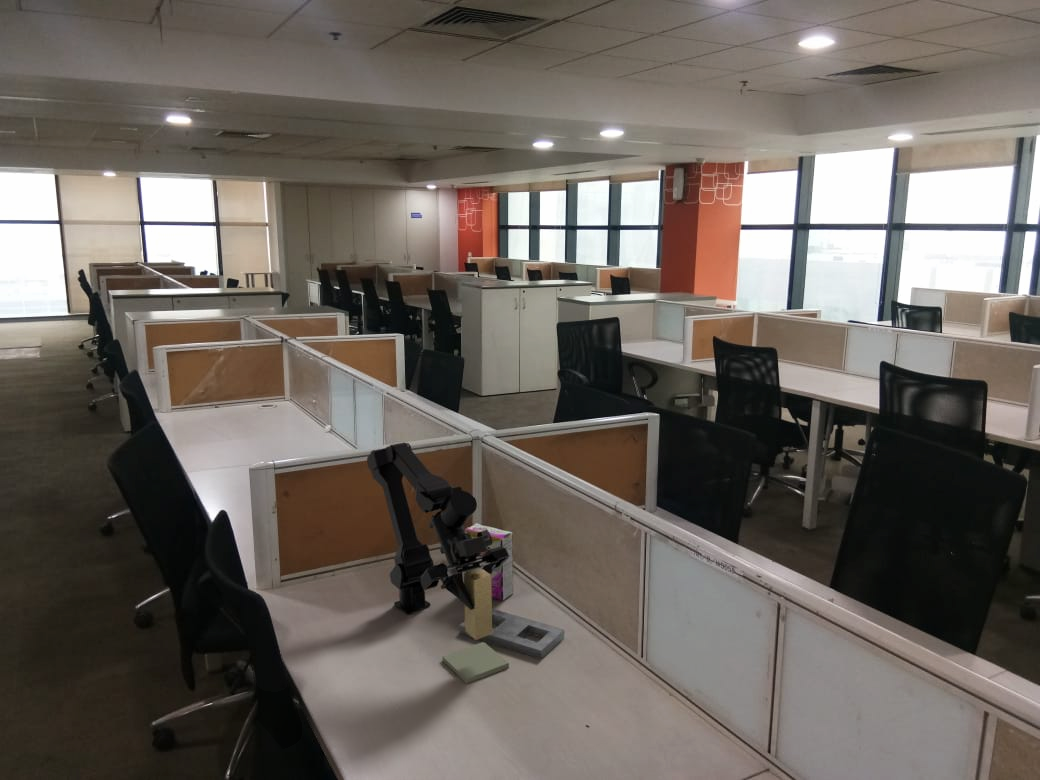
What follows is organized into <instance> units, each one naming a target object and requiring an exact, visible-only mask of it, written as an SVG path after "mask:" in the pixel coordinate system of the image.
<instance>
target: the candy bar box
mask: <svg viewBox="0 0 1040 780" xmlns="http://www.w3.org/2000/svg"><path fill="white" fill-rule="evenodd" d="M464 530H465V533H469V534H470V535H471V537H472V538H476V537H477V533H478V532H481V531H484V530H488V531H489V533H490V535H491V538H492V542H493V543H492V545H489V546H486V547H487V551H488V550H490V549H493V548H497V547H500V546H502V547H504V548H506V549H507V551H508V553H509V556H510V557H509V558H508V559H507V560H506V561H505V562H504V563H503V564H502V565H501V566H500V567H498V568H495V569H492V572H491V591H492V599H496V600H499V601H502V602H504V601H505V600H506V599H507V598H509V597H510V596H512V595H513V594H514V560H513V559H514V556H513V555H514V554H513V553H514V551H513V549H514V548H513V541H514V540H513V532H512V531H508V530H504V529H500V528H495V527H492V526H488V525H484V524H480V523H474V524H472V525H470V526H468V527H466V528H465V529H464ZM487 551H486V552H487ZM486 552H481V554H480V555H479V556H477V557H476V558H481V557H483V556H484V555H485V553H486ZM472 565H473V564H472ZM469 566H471V565H469ZM473 570H475V569H473ZM470 571H472V570H470ZM466 572H469V571H466ZM466 572H465V573H466Z"/></svg>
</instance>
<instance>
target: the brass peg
mask: <svg viewBox="0 0 1040 780" xmlns="http://www.w3.org/2000/svg"><path fill="white" fill-rule="evenodd" d="M463 582H464V585H465V587H466V589H467V591H468V593H469V596H470V598H471V600H472V603H473V606H474V608H473V609H472V610H470V609H469V608H468V607H467V606H466V605H465V604H464V621H465V632H466V633H468V634H469V635H470V636H471V637H470V638H473V639H474V641H475V640H476V641H477V640H479V639H480V638H482V637H485V636H488V635H491V634H492V629H493V622H492V609H493V607H492V606H493V605H492V604H493V598H492V592H491V574H489V573H487V572H486V571H484V570H483V569H481V568H479V569H475V570H472V571H469V572H463Z"/></svg>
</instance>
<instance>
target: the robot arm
mask: <svg viewBox="0 0 1040 780" xmlns="http://www.w3.org/2000/svg"><path fill="white" fill-rule="evenodd" d="M366 458H367V459H366V464H367V467H368V469H369V471H370V472H371V475H372V478H373V480H375V482H376V483H378V484H379V486H381V487H382V491H383V494H384V497H385V501H386V505H387V509H388V513H389V516H390V521H391V524H392V528H393V532H394V536H395V539H396V544H397V547H396V551H395V554H394V558H393V560H394V567H393V569H391V571H390V573H389V577H390V583H391V584H392V585H393V586H395V587H396V588H397V589H398V593H399V595H398V597H399V600H398V601H395V602H394V603H393V605H394V606H395V607H396V608H398V609H399V610H401V611H403V612H404V613H405V614H407V615H410V614H412V613H415V612H418V611H420V610H421V611H422V610H423V609H426V608H428V607H431V603H430V602H429V601H427V600H426V592H425V591H427V590H431V589H433V588H434V589H435V588H437V587H438V584H439V583H440V581H441V585H440V589H441V590H444V589H445V590H447V591H448V592H449V593H450V594H452V595H453V596H454V597H456V598H457V599H458V600H459V601H460V602H461V603H462V604H463V605H464V606H465V605H466V606H467V607H468V608H469V609H470V610H472V609H473V608H474V606H473V603H472V600H471V598H470V596H469V593H468V591H467V589H466V587H465V585H464V573H466V571H470V570H473V569H479V568H481V569H483V570H484V571H486V572H487V573H489V574H491V572H492V569H495V568H498V567H500V566H501V565H502V564H503V563H504V562H505V561H506V560H507V559H508V558H509V557H510V556H509V553H508V551H507V549H506V548H504V547H502V546H500V547H497V548H493V549H490V550H488V551H487V547H486V546H489V545H492V543H493V542H492V538H491V535H490V533H489V531H488V530H484V531H481V532H478V533H477V537H476V538H472V537H471V535H470V534H469V533H465V529H464V525H466V523H467V522H468V521H469V520H470V519H471V517H472V516H473V514H474V513H475V511H477V508H478V504H477V503H478V502H477V500H476V497H474V496H473V495H472V494H471V493H470V492H468V491H466V490H463V489H462V487H461V485H459V486H454V487H453V486H452V485H451V483H450V482H448V481H447V480H445V478H444V477H442V476H439V475H434V474H433V473H431V472H430V470H429V469H428V468H427V467H426V465H425V464H424V463H423V462H422V461H421V459H420V458H419V457H418V456H417V455H416V454H415V452H414V451H413V450H412V447H411V445H410V443H409V442H400V443H392V444H390V445H389V446H386V447H384V448H378V449H373V450H371V451H370V454H369V455H367V457H366ZM404 477H405V479H406V480H407V481H408V482H409V484H410V485H411V486H412V488H413V489H414V491H415V497H414V499H415V500H414V501H416V504H417V506H418V507H419V509H420V510H421V511H422V512H423V513H426V514H428V513H432V512H436V513H435V514H433V515H431V520H430V522H429V528H430V529H434V532H435V533H436V537H437V539H438V541H439V543H440V546H441V547H440V549H439V552H440V554H441V555H442V554H443V555H444V556H445V558H446V561H447V563H448V566H447V565H446V564H445V563H443V562H441V563H439V564H435V565H434V560H433V559H432V557H431V554H430V550H429V546H428V545H427V544H426V543H422V542H421V541H420V540H419V539H418V536H417V532H416V528H415V525H414V521H413V516H412V513H411V509H410V506H409V503H408V497H407V495H406V492H405V488H404V483H403V478H404ZM486 551H487V552H486ZM481 552H486V553H485V555H484V556H483V557H481V558H476V557H477V556H479V555H480V554H481ZM472 564H473V565H472ZM469 565H471V566H469ZM491 592H492V591H491Z"/></svg>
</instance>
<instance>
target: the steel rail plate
mask: <svg viewBox="0 0 1040 780" xmlns="http://www.w3.org/2000/svg"><path fill="white" fill-rule="evenodd" d="M492 624H496V625H498V626H496V627H495V628H492V634H491V635H488V636H485V637H482V638H480V639H478V640H480V641H482V642H485V643H488V644H491V645H495V646H499V647H502V648H504V649H508V650H511V651H514V652H517V653H520V654H522V655H527V656H529V657H533V658H535V659H538V660H542V659H543V658H544V657H546V656H547V655H548V654H549V653H550V652H551V651H552V650H553V649H554V648H555V647H557V645H558V644H560V643H561V642H562V641H563V640H564V639H565V629H563V628H560V627H557V626H553V625H549V624H546V623H543V622H540V621H536V620H533V619H529V618H526V617H523V616H520V615H516V614H512V613H509V612H505V611H502V610H499V609H496V608H492ZM458 631H459V634H461V635H463V636H467V637H470V638H472V637H471V636H470V635H469V634H468V633H466V632H465V620H464V621H463V622H461V623H460V624H458ZM528 634H530V635H532V636H536V637H540V638H541V639H540V640H538V642H536V641H532V640H530V639H526V638H525V637H527V636H528Z"/></svg>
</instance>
